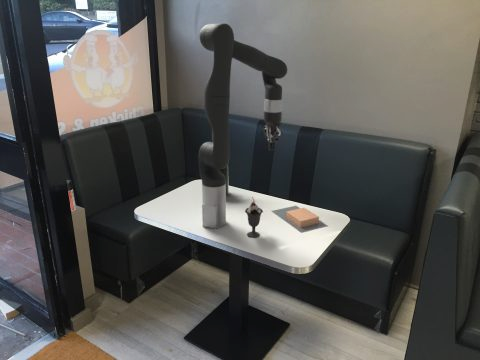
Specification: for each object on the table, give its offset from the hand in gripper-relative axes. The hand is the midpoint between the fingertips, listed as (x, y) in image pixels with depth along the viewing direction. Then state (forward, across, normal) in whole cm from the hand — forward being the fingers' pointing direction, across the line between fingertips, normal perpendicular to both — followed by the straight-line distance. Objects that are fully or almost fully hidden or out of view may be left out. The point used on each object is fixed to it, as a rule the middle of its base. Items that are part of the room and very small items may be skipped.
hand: (271, 150), depth 171 cm
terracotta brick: (+23, -18, -2) cm, 29 cm away
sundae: (+25, -23, +21) cm, 40 cm away
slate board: (+25, -20, -2) cm, 32 cm away
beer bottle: (+25, +20, +17) cm, 36 cm away
